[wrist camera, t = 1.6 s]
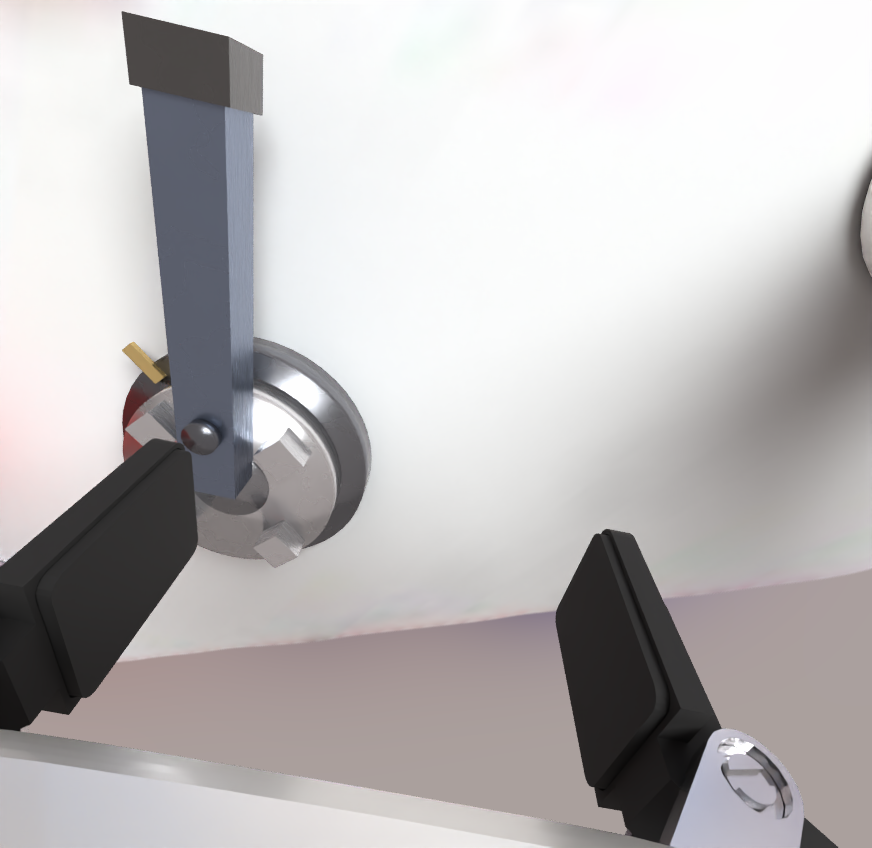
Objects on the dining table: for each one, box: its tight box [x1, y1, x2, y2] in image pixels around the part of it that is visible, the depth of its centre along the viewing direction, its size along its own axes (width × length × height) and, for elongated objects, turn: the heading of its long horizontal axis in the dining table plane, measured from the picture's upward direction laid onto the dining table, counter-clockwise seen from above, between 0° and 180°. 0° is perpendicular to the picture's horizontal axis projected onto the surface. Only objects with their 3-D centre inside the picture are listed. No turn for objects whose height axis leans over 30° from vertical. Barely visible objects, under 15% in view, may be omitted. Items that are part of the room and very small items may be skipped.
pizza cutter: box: [122, 11, 342, 568], centre depth 24 cm, size 13×28×5 cm, turn 168°
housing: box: [122, 337, 371, 549], centre depth 31 cm, size 16×16×2 cm
